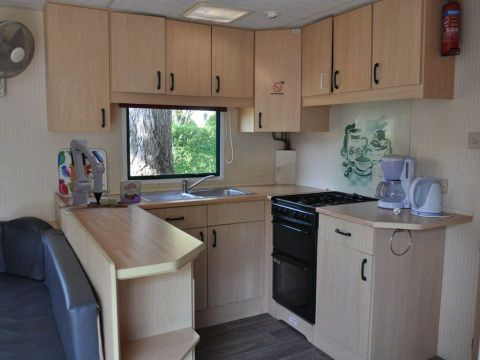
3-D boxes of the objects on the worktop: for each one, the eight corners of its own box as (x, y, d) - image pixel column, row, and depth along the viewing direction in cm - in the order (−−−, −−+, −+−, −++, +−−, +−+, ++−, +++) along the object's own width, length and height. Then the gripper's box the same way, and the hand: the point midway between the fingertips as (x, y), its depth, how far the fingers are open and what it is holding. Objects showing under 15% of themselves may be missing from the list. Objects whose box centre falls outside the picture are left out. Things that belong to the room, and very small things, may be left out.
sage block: (108, 206, 279) (108, 198, 278) (109, 205, 285) (109, 197, 284) (116, 206, 280) (116, 199, 279) (117, 205, 286) (117, 197, 285)
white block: (100, 206, 278) (100, 198, 277) (101, 205, 284) (101, 197, 283) (108, 206, 279) (108, 198, 278) (109, 205, 285) (109, 197, 284)
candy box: (120, 204, 297) (120, 180, 296) (120, 203, 303) (120, 180, 301) (140, 204, 301) (140, 180, 299) (140, 203, 306) (140, 180, 305)
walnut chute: (87, 209, 273) (87, 204, 273) (90, 206, 286) (90, 201, 286) (127, 209, 278) (127, 204, 278) (129, 206, 291) (129, 201, 290)
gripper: (85, 183, 274) (85, 204, 275) (108, 184, 276) (108, 205, 278) (87, 182, 281) (87, 203, 282) (110, 182, 283) (110, 203, 285)
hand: (98, 204), depth 280 cm, fingers closed
